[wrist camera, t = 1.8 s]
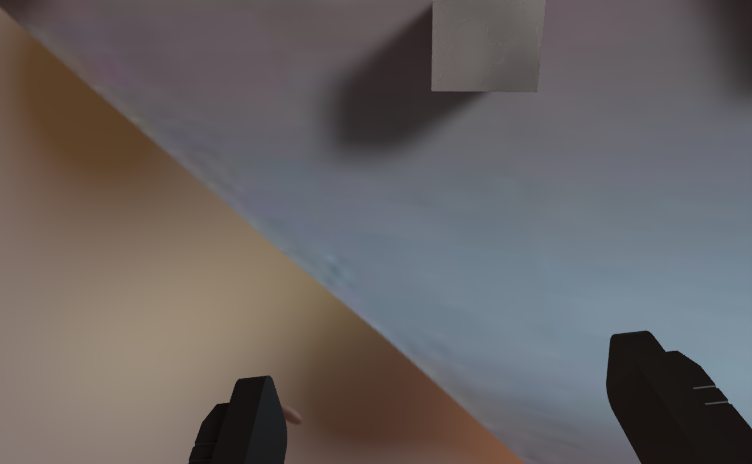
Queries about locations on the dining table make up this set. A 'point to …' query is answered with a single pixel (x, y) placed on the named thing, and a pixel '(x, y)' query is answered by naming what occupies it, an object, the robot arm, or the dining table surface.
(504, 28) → the gray rectangular block
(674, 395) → the robot arm
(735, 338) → the dining table surface
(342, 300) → the dining table surface
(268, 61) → the dining table surface
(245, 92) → the dining table surface
